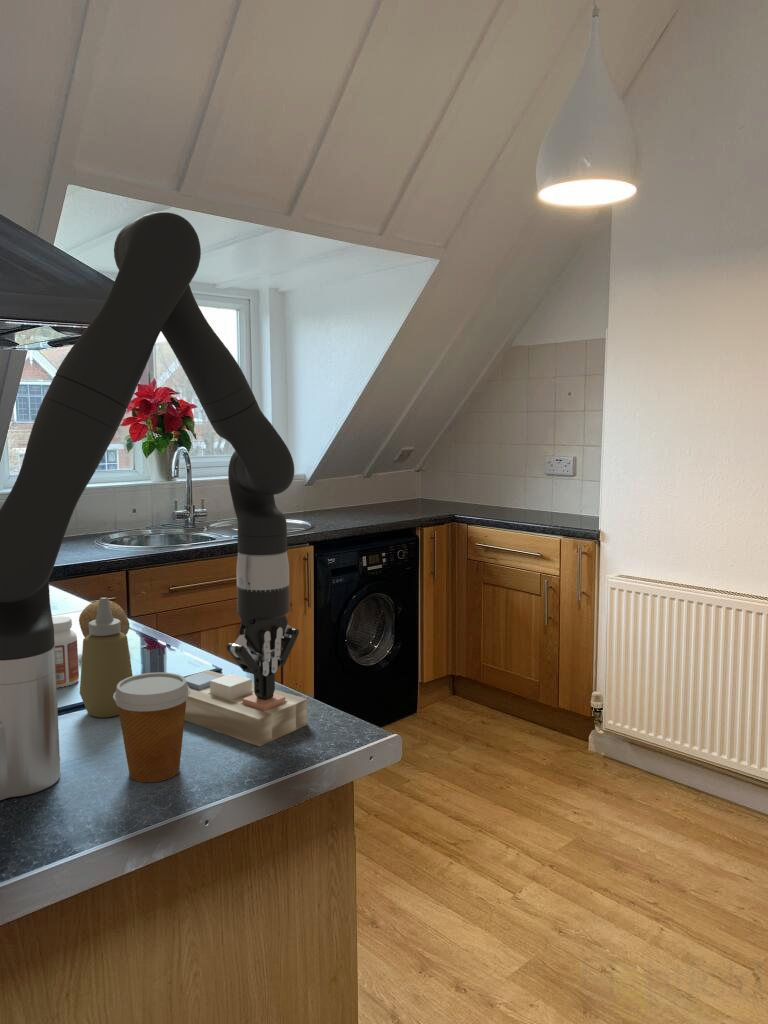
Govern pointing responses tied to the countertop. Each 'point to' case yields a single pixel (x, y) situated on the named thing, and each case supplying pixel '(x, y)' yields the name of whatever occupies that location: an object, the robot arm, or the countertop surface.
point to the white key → (231, 686)
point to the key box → (245, 715)
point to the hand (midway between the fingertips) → (264, 697)
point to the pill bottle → (65, 652)
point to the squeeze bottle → (103, 663)
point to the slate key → (199, 681)
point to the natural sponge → (91, 613)
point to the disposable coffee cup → (152, 723)
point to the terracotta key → (263, 702)
